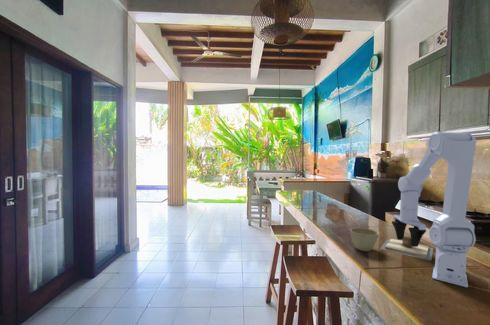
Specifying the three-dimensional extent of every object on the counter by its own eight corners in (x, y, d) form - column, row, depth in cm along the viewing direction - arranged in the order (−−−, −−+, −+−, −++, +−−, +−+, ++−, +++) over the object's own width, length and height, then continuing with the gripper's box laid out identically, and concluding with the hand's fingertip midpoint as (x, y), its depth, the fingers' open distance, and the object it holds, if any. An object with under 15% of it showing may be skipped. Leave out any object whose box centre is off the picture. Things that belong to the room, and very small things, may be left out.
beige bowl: (381, 255, 92) (382, 236, 92) (352, 252, 94) (353, 233, 94) (373, 246, 102) (374, 228, 102) (346, 243, 104) (347, 226, 104)
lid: (426, 258, 90) (426, 247, 90) (385, 248, 98) (385, 239, 98) (428, 248, 100) (429, 238, 100) (391, 240, 108) (391, 231, 108)
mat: (431, 261, 88) (431, 260, 88) (379, 249, 98) (379, 248, 98) (433, 249, 100) (433, 248, 100) (387, 239, 110) (387, 238, 110)
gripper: (434, 212, 92) (432, 249, 92) (404, 204, 106) (403, 236, 107) (416, 212, 91) (414, 249, 91) (389, 204, 105) (387, 236, 106)
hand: (407, 242), depth 99 cm, fingers open, 7 cm apart
